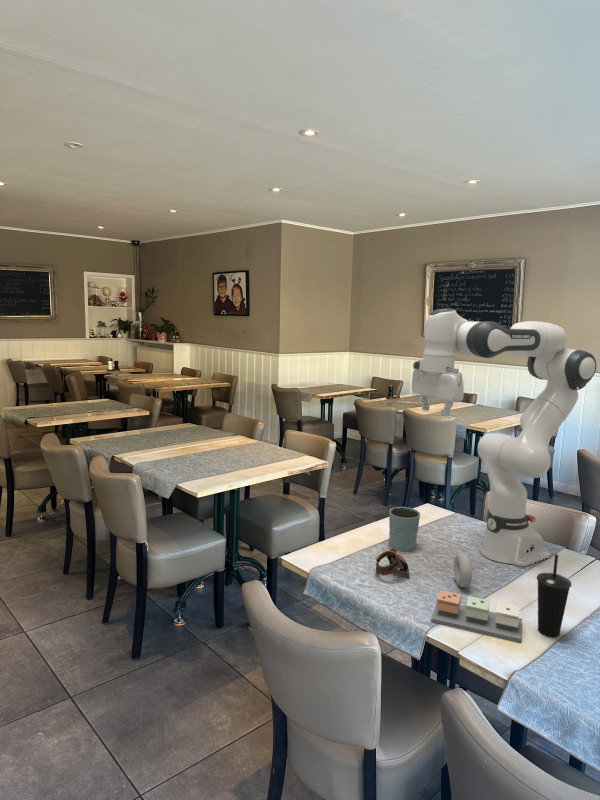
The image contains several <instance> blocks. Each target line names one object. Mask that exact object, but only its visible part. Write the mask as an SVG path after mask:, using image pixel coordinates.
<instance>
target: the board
mask: <svg viewBox="0 0 600 800" xmlns="http://www.w3.org/2000/svg"><path fill="white" fill-rule="evenodd" d="M465 615H466V606H465V605H462V604H460V608H459V612H458V614H455V613H450V612H446V611H441V610H437V602H436V603H435V606H434V609H433V612H432V615H431V618H430V623H433V624H437V625H442V626H446V627H450V628H455V629H457V630H463V631H468V632H472V633H476V634H481V635H485V636H489V637H493V638H498V639H502V640H504V641H505V640H506V641H511V642H515V643H519V644H522V633H523V632H522V630H523V628H522V627H523V625H522V624H523V618H520V617H519V623H518V628H517V627H513V626H508V625H504V624H499V623H495V619H496V612H494V611H490V610H489V613H488V620H487V621H486V620H482V619H477V618H473V617H468V616H465Z"/></svg>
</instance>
